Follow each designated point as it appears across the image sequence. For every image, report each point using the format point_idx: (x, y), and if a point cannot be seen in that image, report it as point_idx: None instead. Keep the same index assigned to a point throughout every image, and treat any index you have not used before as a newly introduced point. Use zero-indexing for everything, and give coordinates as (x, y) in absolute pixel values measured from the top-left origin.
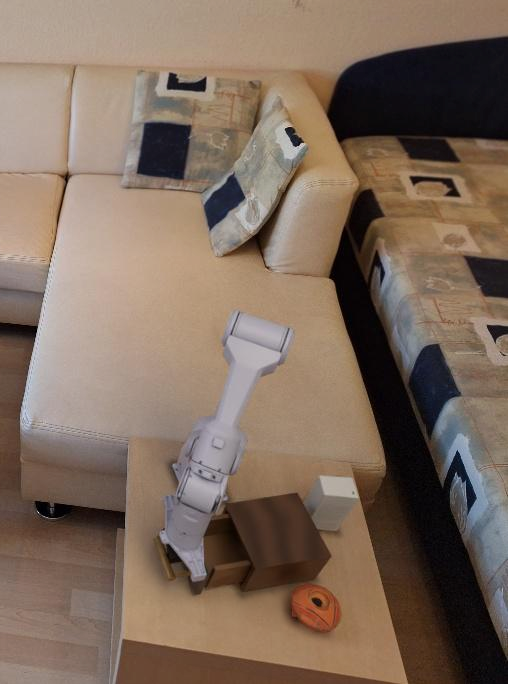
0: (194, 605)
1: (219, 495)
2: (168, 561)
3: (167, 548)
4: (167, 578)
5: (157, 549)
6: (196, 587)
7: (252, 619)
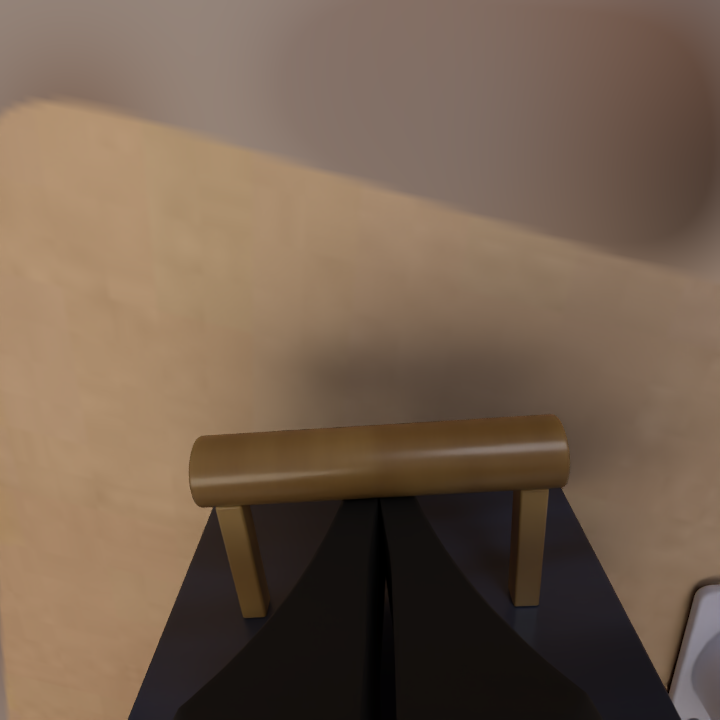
0: (182, 479)
1: (700, 707)
2: (329, 497)
3: (414, 555)
4: (197, 449)
5: (453, 436)
6: (198, 562)
7: (139, 657)
